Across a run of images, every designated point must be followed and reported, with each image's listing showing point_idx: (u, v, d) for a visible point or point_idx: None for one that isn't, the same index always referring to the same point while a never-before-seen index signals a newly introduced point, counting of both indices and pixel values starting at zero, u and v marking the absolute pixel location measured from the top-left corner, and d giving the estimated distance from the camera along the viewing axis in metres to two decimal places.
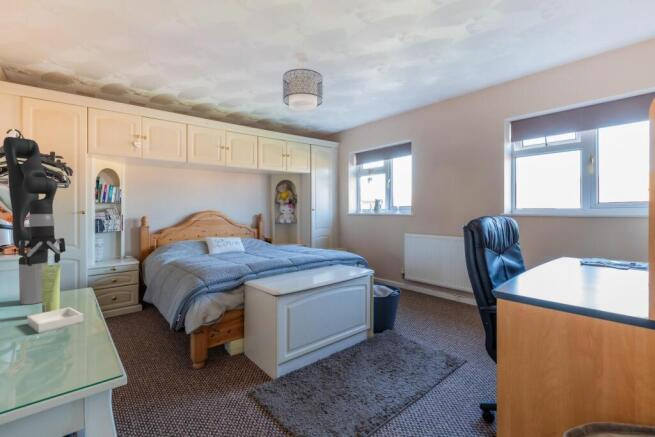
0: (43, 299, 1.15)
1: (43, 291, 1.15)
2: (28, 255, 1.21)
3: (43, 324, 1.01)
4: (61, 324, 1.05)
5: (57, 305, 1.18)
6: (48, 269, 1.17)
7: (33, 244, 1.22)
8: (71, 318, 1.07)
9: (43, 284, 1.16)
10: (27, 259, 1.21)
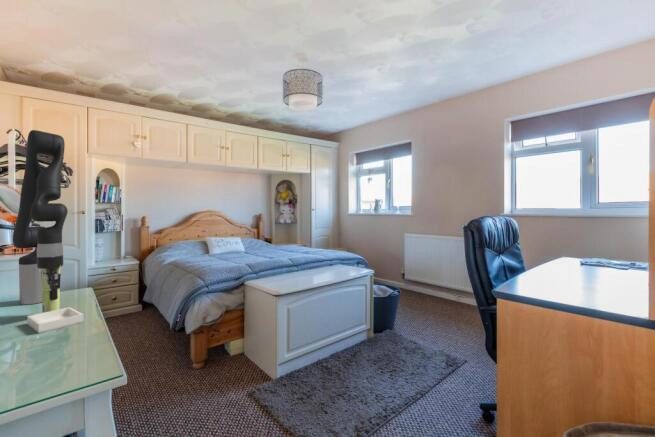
0: (43, 299, 1.15)
1: (44, 291, 1.15)
2: None
3: (43, 324, 1.01)
4: (61, 324, 1.05)
5: (57, 305, 1.18)
6: None
7: None
8: (71, 318, 1.07)
9: (43, 284, 1.16)
10: None
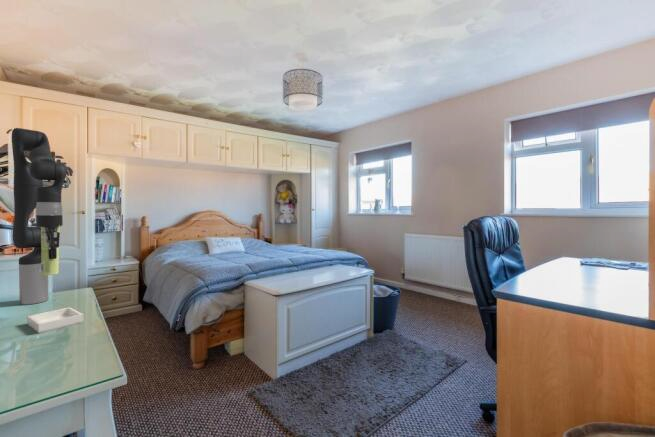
0: (42, 258, 1.15)
1: (43, 250, 1.15)
2: None
3: (43, 324, 1.01)
4: (61, 324, 1.05)
5: (56, 265, 1.17)
6: None
7: None
8: (71, 318, 1.07)
9: (42, 243, 1.15)
10: None
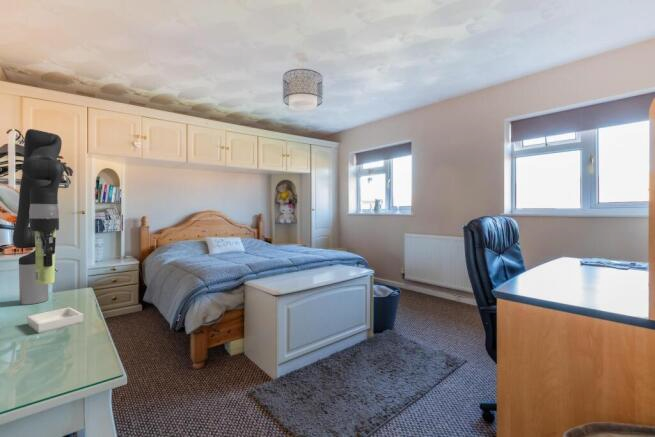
0: (36, 266, 1.04)
1: (37, 257, 1.04)
2: (52, 253, 1.05)
3: (43, 324, 1.01)
4: (61, 324, 1.05)
5: (52, 273, 1.06)
6: None
7: None
8: (71, 318, 1.07)
9: (36, 249, 1.04)
10: None
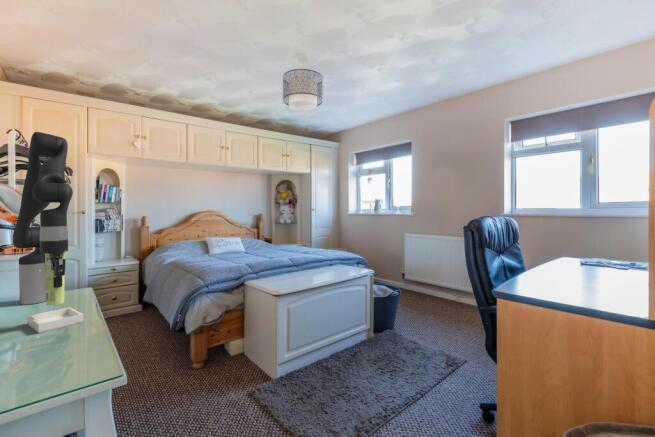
0: (47, 287, 1.06)
1: (47, 278, 1.06)
2: (62, 274, 1.07)
3: (43, 324, 1.01)
4: (61, 324, 1.05)
5: (62, 293, 1.08)
6: None
7: None
8: (71, 318, 1.07)
9: (47, 270, 1.07)
10: None
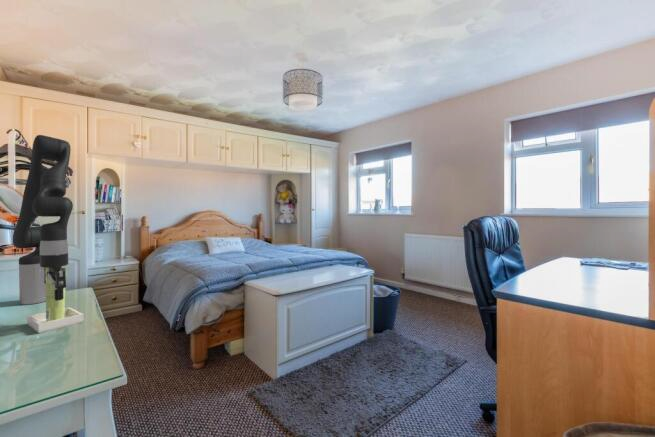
0: (47, 305, 1.07)
1: (48, 296, 1.07)
2: None
3: (43, 324, 1.01)
4: (61, 324, 1.05)
5: (62, 311, 1.09)
6: None
7: None
8: (71, 318, 1.07)
9: (47, 288, 1.07)
10: None
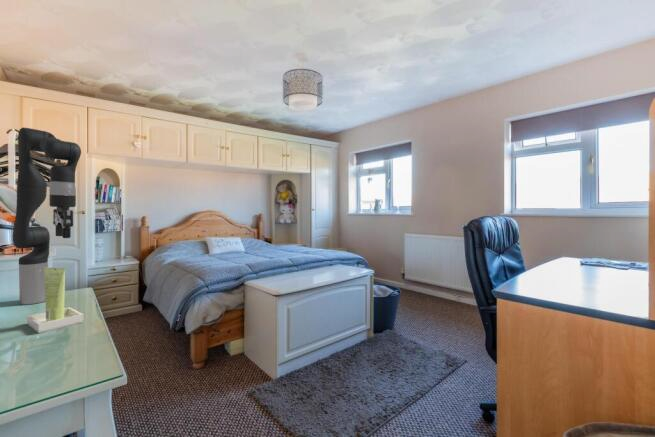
0: (47, 305, 1.06)
1: (47, 297, 1.06)
2: None
3: (43, 324, 1.01)
4: (61, 324, 1.05)
5: (62, 311, 1.09)
6: (52, 272, 1.08)
7: None
8: (71, 318, 1.07)
9: (46, 289, 1.07)
10: None
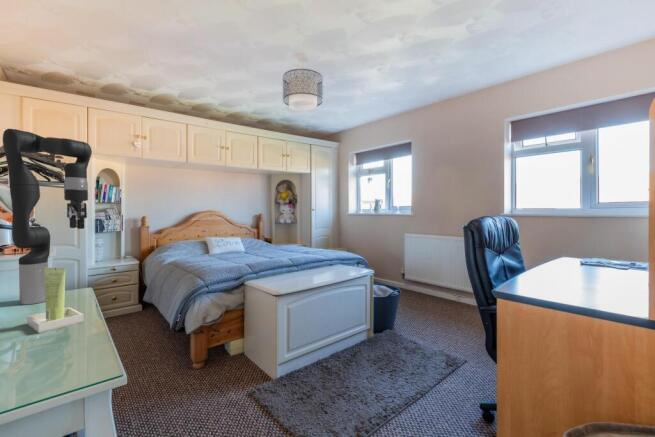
0: (47, 305, 1.07)
1: (47, 297, 1.06)
2: None
3: (43, 324, 1.01)
4: (61, 324, 1.05)
5: (62, 311, 1.09)
6: (52, 272, 1.08)
7: None
8: (71, 318, 1.07)
9: (47, 289, 1.07)
10: None
